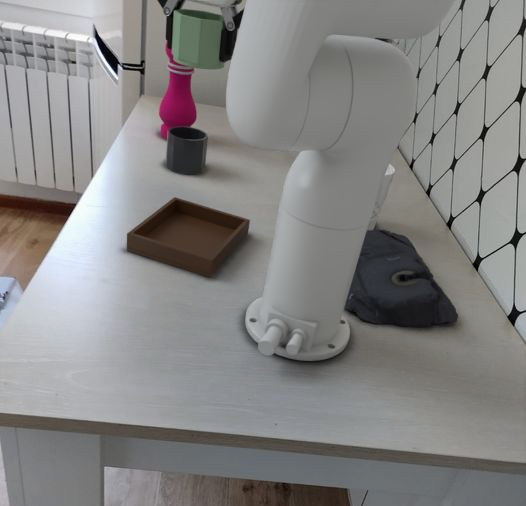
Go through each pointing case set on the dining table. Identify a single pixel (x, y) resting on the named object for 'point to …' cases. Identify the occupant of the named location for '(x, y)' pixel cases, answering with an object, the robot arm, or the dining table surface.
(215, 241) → the tray
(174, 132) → the dark grey tub
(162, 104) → the pepper mill
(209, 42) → the top tub
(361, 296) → the dark slate chunk
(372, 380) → the dining table surface
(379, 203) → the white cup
